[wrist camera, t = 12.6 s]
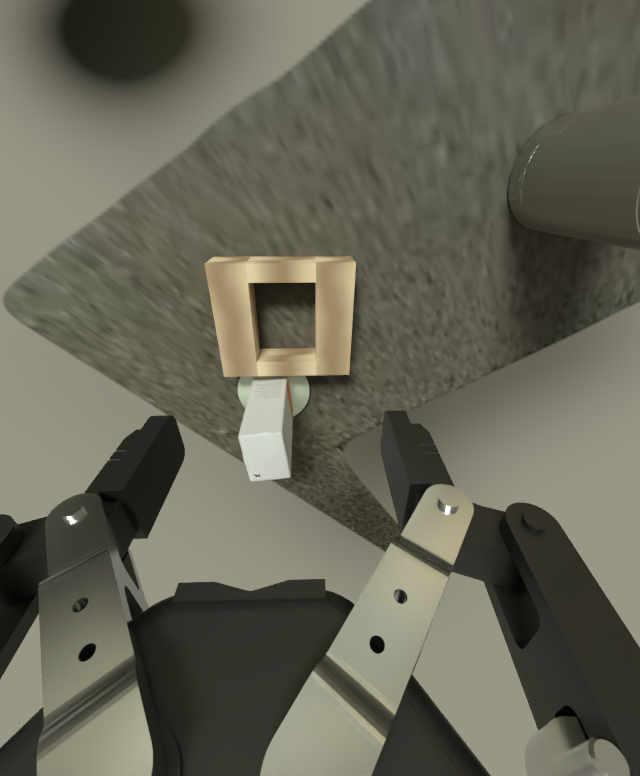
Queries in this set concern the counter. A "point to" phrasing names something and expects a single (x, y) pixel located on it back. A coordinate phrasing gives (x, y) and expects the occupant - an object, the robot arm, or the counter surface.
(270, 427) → the skincare box
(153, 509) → the robot arm
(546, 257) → the counter surface
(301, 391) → the coaster
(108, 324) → the counter surface
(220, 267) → the pocket block
